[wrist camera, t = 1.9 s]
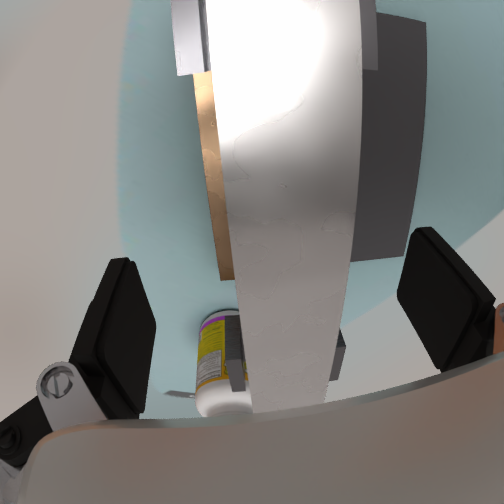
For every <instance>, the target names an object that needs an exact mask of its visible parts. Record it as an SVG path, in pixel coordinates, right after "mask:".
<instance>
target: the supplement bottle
mask: <svg viewBox="0 0 504 504" xmlns="http://www.w3.org/2000/svg"><path fill="white" fill-rule="evenodd" d="M229 315H240V314H239V311H233V310H228V311H221V312H218V313H215V314H213V315H211V316H210V317H208V318H207V319H206V320H205V321H204V322H203V324H202V325H201V328H200V333H199V345H198V360H197V377H196V393H195V404H196V407H197V410H198V411H199V413H200V414H201V415H202V416H203V417H218V416H232V415H243V414H253V408H252V401H251V394H250V387H249V380H248V373H247V366H246V362H244V368H245V383H246V391H243V392H232V389H231V385H230V381H229V376H228V372H227V367H226V363H225V316H229Z"/></svg>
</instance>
